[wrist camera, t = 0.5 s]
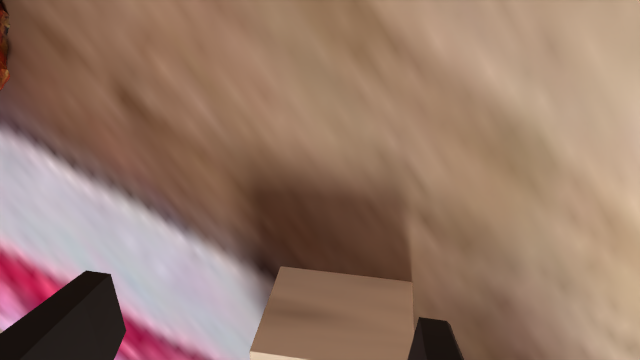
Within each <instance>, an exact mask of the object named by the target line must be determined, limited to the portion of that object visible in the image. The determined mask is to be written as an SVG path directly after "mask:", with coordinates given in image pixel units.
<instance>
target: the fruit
mask: <svg viewBox="0 0 640 360" xmlns="http://www.w3.org/2000/svg"><path fill="white" fill-rule="evenodd" d="M9 27H10V25H9V15H8V14H7V13H6V12H5V11H4V10H3V8H2V6H1V4H0V90H2V88H3V86H4V84H5V83H6V82H7V81H8V80H9V78H10V74H9V72H8V70H7V66H6V60H7V51H8V44H7V33H8V29H9Z"/></svg>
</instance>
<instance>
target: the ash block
mask: <svg viewBox="0 0 640 360" xmlns="http://www.w3.org/2000/svg"><path fill="white" fill-rule="evenodd" d="M413 337H414V319H413V286H412V282H409V281H401V280H392V279H384V278H375V277H367V276H358V275H350V274H342V273H333V272H325V271H316V270H308V269H300V268H291V267H283V266H281V267H280V269H279V272H278V275H277V278H276V280H275V283H274V286H273V289H272V291H271V294H270V297H269V300H268V302H267V305H266V308H265V310H264V313H263V316H262V319H261V321H260V324H259V327H258V330H257V332H256V335H255V338H254V341H253V343H252V346H251V349H250V360H407V359H408V355H409V352H410V348H411V345H412V341H413Z"/></svg>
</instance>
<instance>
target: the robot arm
mask: <svg viewBox="0 0 640 360" xmlns="http://www.w3.org/2000/svg"><path fill="white" fill-rule="evenodd" d="M125 332H126V328H125V325H124V321H123V317H122V314H121V310H120V306H119V303H118V299H117V295H116V292H115V288H114V284H113V281H112V277H111V274H107V273H100V272H92V271H85V272H83V273H82V274H81V275H79V276H78V277H76V278H75V279H74V280H72V281H71V282H70V283H68V284H67V285H66V286H64V287H63V288H62V289H60V290H59V291H57V292H56V293H55V294H53V295H52V296H51V297H49V298H48V299H47V300H45V301H44V302H43V303H41V304H40V305H39V306H37V307H36V308H35V309H33V310H32V311H31V312H29V313H28V314H27V315H25V316H24V317H22V318H21V319H20V320H18V321H17V322H16V323H14V324H13V325H11V326H10V327H9V328H7V329H6V330H5V331H3V332H2V333H0V360H114V358H115V356H116V354H117V351H118V349H119V346H120V344H121V342H122V339H123V337H124V335H125ZM407 360H464V358H463V356H462V354H461V351H460V349H459V346H458V344H457V341H456V339H455V336H454V334H453V331H452V328H451V326H450V324H449V323H448V322H447V321H443V320H435V319H428V318H421V317H419V319H418V323H417V327H416V330H415V334H414V337H413V341H412V345H411V348H410V352H409V355H408V359H407Z"/></svg>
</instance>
